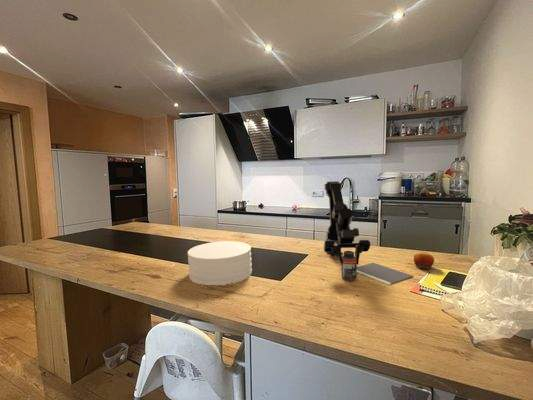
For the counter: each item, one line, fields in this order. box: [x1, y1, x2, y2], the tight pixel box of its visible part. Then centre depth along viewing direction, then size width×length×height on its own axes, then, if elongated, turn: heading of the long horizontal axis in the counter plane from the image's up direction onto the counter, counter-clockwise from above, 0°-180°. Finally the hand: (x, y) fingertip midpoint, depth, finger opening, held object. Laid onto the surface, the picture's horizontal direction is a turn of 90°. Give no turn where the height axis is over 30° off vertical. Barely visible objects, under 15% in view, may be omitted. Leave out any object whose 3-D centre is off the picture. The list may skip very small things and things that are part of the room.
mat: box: [357, 262, 414, 286], centre depth 116 cm, size 20×16×1 cm
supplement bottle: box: [341, 250, 358, 282], centre depth 111 cm, size 6×6×11 cm
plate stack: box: [187, 240, 253, 286], centre depth 122 cm, size 28×28×12 cm
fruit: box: [413, 251, 435, 271], centre depth 121 cm, size 8×8×8 cm
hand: (349, 264), depth 110 cm, fingers closed on supplement bottle, 6 cm apart
